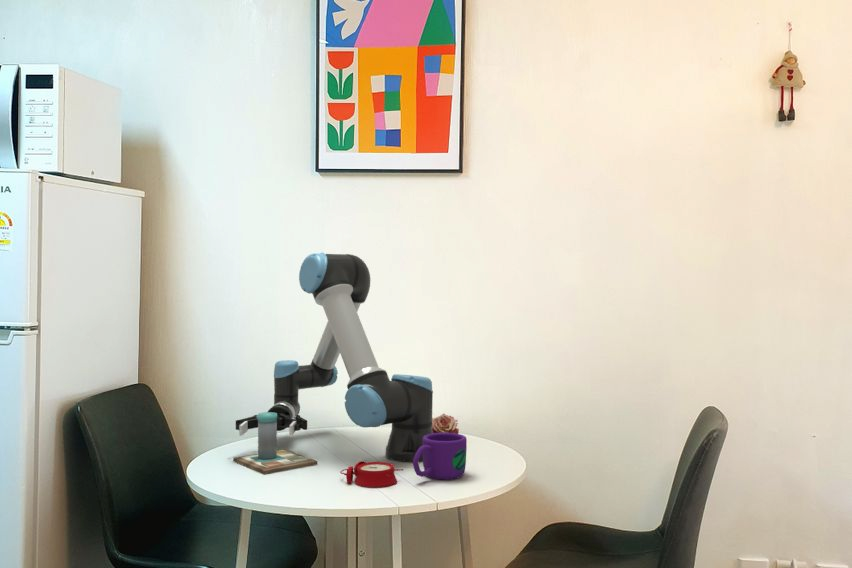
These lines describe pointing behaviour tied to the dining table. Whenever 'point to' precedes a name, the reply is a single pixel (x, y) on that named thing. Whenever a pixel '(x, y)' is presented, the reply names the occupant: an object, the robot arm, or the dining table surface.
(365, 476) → the alarm clock
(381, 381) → the robot arm
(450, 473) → the mug
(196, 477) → the dining table surface
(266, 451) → the grey teal canister
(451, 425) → the flower
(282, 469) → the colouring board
